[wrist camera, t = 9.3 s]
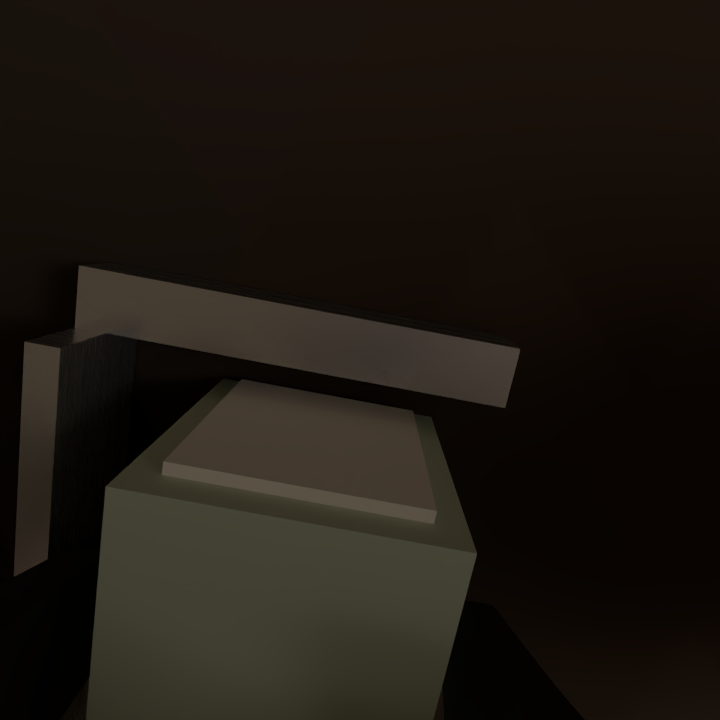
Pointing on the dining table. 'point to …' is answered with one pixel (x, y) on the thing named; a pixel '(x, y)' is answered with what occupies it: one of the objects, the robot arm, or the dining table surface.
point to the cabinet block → (280, 565)
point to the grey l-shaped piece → (208, 334)
